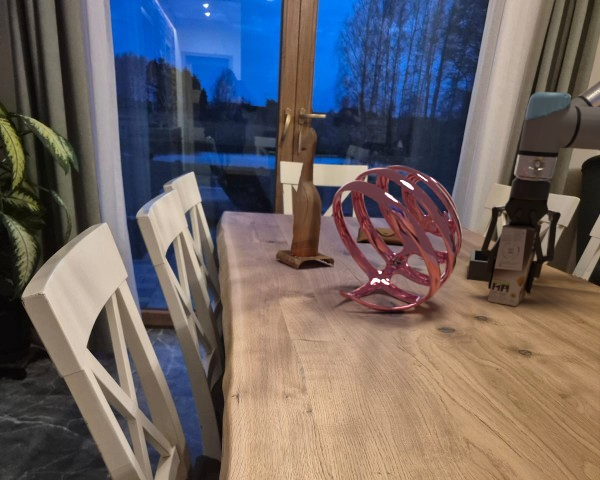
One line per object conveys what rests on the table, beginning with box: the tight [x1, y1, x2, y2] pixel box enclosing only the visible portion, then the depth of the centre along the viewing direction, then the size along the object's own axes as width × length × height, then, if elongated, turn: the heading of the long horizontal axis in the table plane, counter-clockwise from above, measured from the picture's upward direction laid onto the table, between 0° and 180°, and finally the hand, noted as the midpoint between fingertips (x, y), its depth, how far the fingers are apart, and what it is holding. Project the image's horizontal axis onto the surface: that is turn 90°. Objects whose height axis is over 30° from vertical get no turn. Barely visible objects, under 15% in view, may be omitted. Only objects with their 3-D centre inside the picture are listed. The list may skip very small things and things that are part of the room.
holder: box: [466, 248, 498, 282], centre depth 147 cm, size 12×15×5 cm
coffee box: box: [487, 223, 542, 307], centre depth 124 cm, size 9×6×16 cm
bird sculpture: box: [275, 127, 335, 270], centre depth 142 cm, size 11×12×32 cm
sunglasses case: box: [356, 226, 403, 246], centre depth 180 cm, size 18×7×7 cm
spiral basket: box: [331, 164, 463, 313], centre depth 114 cm, size 28×28×27 cm
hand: (508, 289), depth 126 cm, fingers closed on coffee box, 7 cm apart
